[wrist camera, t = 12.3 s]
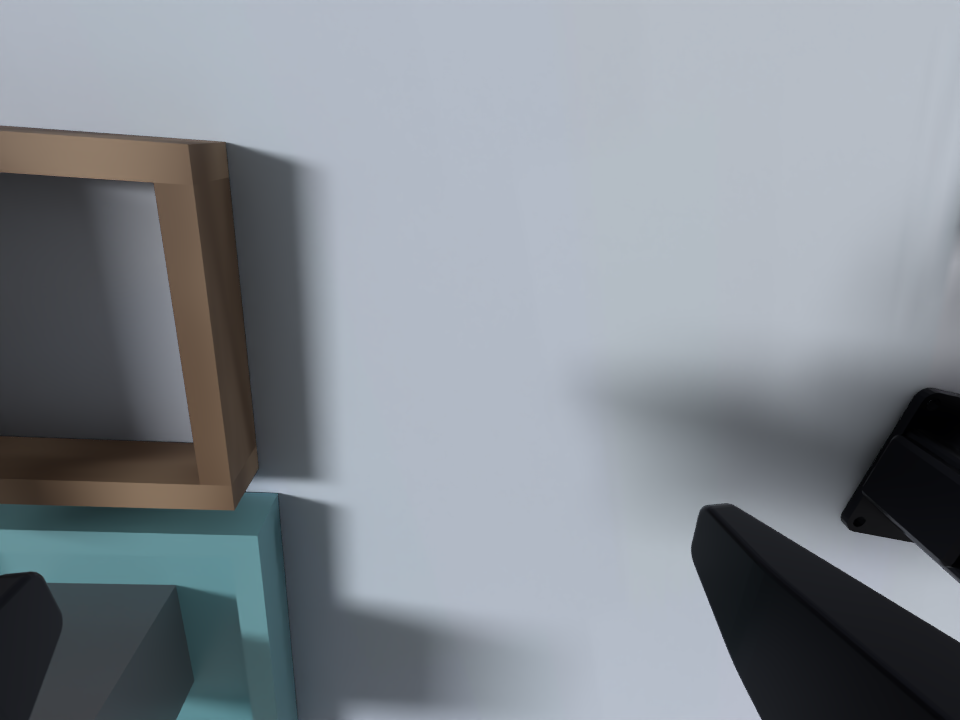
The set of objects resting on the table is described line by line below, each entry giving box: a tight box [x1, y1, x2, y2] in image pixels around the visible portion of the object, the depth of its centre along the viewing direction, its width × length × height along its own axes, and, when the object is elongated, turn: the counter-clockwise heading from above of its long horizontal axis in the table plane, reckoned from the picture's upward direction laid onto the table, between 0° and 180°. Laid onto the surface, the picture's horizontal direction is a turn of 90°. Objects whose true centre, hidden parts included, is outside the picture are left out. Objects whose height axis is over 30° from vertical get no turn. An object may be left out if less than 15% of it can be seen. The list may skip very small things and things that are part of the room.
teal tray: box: [0, 492, 298, 720], centre depth 22 cm, size 13×14×2 cm
